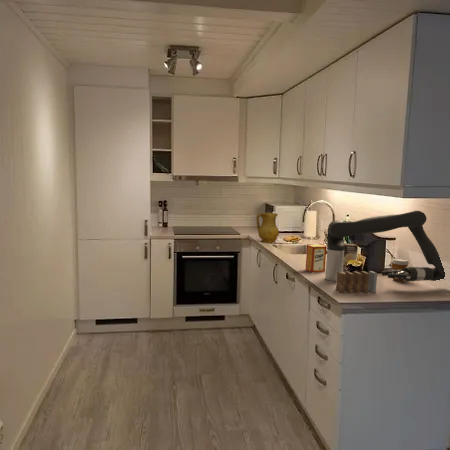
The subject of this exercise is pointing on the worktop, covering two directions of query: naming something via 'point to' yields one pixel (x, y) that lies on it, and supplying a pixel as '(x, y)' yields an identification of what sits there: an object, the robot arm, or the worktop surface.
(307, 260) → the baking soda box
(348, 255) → the coffee box
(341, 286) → the domino
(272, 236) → the pitcher
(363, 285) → the domino
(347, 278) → the domino
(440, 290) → the worktop surface
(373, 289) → the domino
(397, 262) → the disposable coffee cup
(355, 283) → the domino
